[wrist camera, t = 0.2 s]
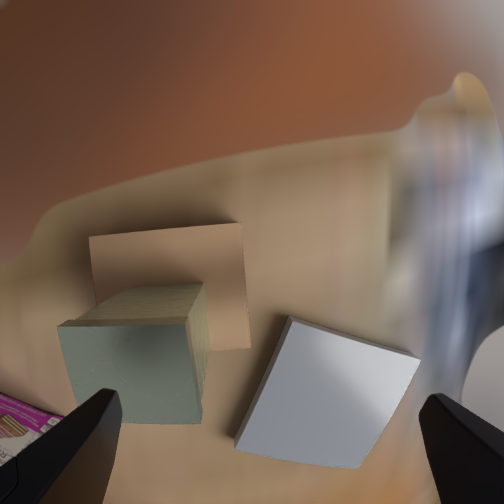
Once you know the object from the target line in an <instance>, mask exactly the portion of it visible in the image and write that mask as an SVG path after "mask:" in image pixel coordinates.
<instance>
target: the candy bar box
mask: <svg viewBox="0 0 504 504" xmlns="http://www.w3.org/2000/svg"><path fill="white" fill-rule="evenodd" d="M62 419H63V417H60V416H57V415H54V414H51V413H48V412H45V411H43V410H40V409H38V408H35V407H32V406H30V405H27V404H25V403H23V402H20V401H18V400H16V399H13V398H11V397H9V396H6V395H4V394H2V393H0V466H1V465H3V464H4V463H6V462H7V461H8V460H9V459H11V458H12V457H13V456H16V454H18V453H19V452H20V451H21V450H23V449H24V448H25V447H27V446H28V445H29V444H31V443H32V442H33V441H35V440H36V439H37V438H38V437H40V436H41V435H42V434H44V433H45V432H46V431H48V430H49V429H50V428H51V427H53V426H54V425H55V424H57V423H58V422H59V421H61V420H62Z"/></svg>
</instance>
